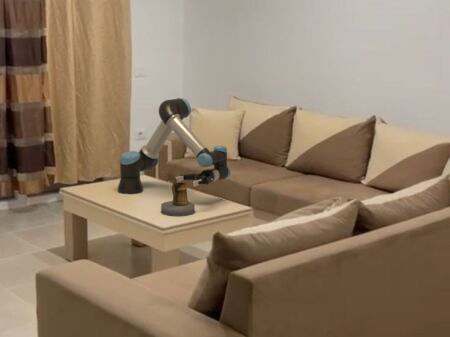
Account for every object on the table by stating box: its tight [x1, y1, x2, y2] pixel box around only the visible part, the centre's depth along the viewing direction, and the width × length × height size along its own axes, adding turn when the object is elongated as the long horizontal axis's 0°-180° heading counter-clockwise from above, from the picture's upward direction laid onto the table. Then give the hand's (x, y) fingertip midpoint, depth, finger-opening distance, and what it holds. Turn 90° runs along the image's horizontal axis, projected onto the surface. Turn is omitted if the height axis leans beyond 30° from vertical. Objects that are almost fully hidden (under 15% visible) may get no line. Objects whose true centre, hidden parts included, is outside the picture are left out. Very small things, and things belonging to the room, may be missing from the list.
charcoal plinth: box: [160, 200, 196, 217], centre depth 403 cm, size 18×18×4 cm
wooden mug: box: [166, 173, 190, 206], centre depth 401 cm, size 9×14×18 cm, turn 140°
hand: (184, 181), depth 404 cm, fingers open, 13 cm apart
